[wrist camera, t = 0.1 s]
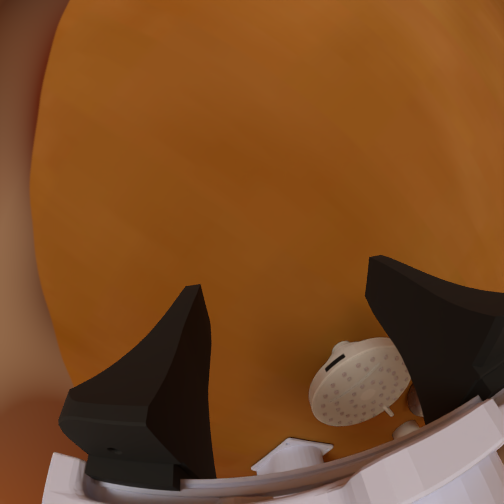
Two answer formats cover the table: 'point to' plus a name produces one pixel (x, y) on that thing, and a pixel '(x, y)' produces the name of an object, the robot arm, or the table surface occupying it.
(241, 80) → the table surface
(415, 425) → the pvc coupling
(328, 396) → the showerhead
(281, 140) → the table surface
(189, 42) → the table surface
